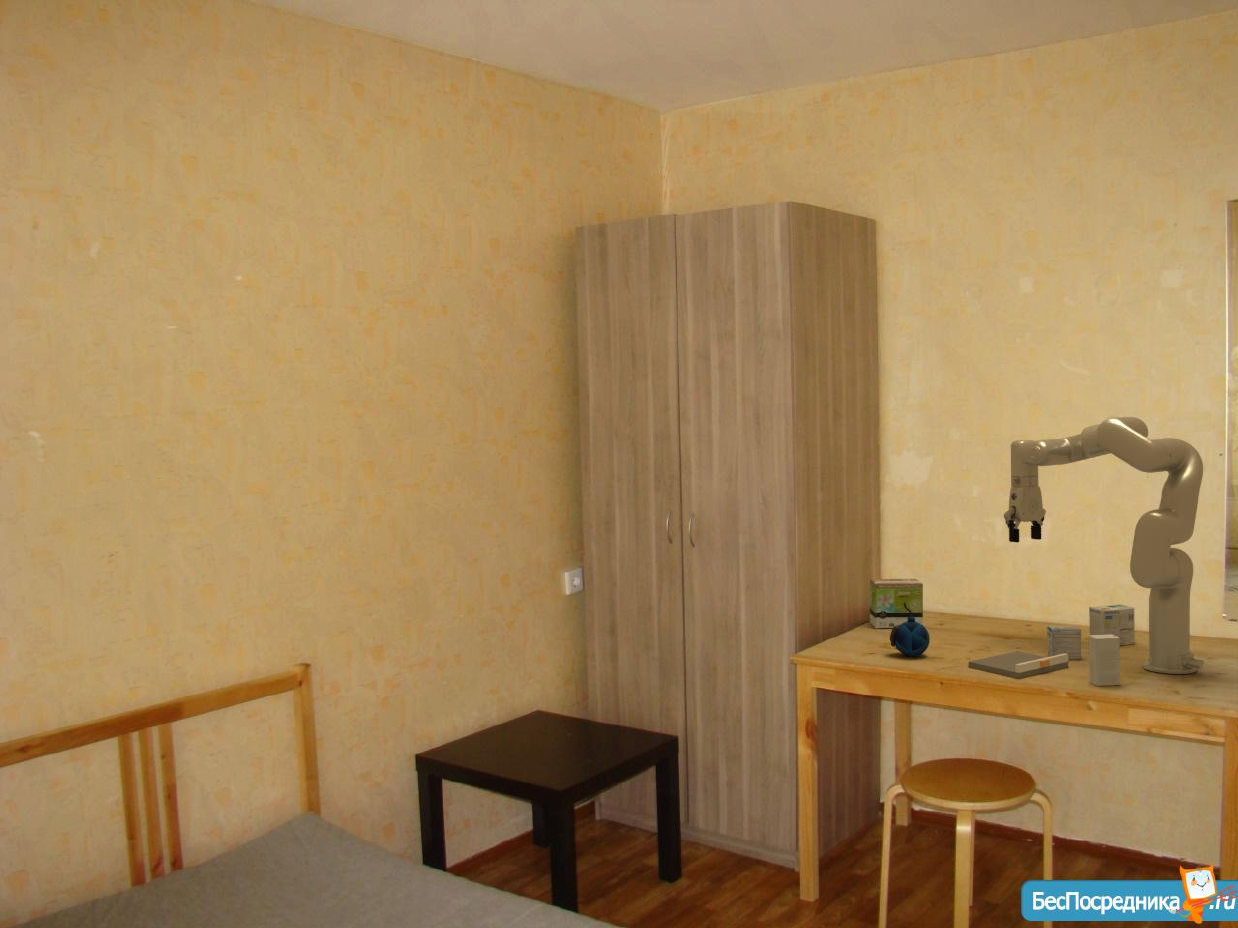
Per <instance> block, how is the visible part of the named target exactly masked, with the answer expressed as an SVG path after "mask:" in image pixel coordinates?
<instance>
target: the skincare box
mask: <svg viewBox="0 0 1238 928" xmlns="http://www.w3.org/2000/svg"><path fill="white" fill-rule="evenodd" d="M1120 646H1121V645H1120V638H1119V637H1117V636H1114V635H1112V634H1109V635H1090V634H1089V635H1088V654H1089V656H1088V658H1089V660H1088V661H1089V662H1088V663H1089V665H1088V666H1089V667H1088V668H1089V683H1090V682H1091V683H1090V684H1093V685H1094V686H1096V687H1105V686H1107V687H1108V686H1109V687H1110V686H1120V685H1121V650H1120V648H1121V647H1120Z"/></svg>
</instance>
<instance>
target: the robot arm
mask: <svg viewBox="0 0 1238 928" xmlns="http://www.w3.org/2000/svg"><path fill="white" fill-rule="evenodd" d="M1148 436H1149V429H1148V426H1147V424H1146V422H1144V420H1142V419H1141V418H1139V417H1133V416H1120V417H1119V416H1118V417H1117V416H1116V417H1110V418H1107V419H1105V420H1103V421H1102V422H1101V423H1099V424H1095V425H1091V426H1086V427H1085V428H1083V429H1082V431H1081V433H1080V434H1074V435H1071V436H1068V437H1063V438H1053V439H1052V438H1051V439H1050V438H1049V439H1038V440H1037V439H1036V440H1033V439H1017V440H1014V441H1012V442H1011V443H1010V490H1009V496H1008V497H1009V498H1008V510H1006V511H1005V513H1004V514H1003V518H1004V520H1005V524H1006V527H1007V529H1008V542H1009V543H1010V542H1011V543H1017V544H1018V543H1020V528H1019V526H1020V524H1021V523H1022V522H1023V523H1026V522H1027V523H1029V522H1030V523H1031V525H1030V539H1031V540H1036V541H1037V540H1039V541H1040V540H1042V526H1043V525H1044V524H1043V523H1044V520H1045V516H1046V513H1047V511H1046V509H1045V508H1044V507H1043V506H1044V505H1043V496H1042V490H1041V486H1039V467H1050V466H1061V465H1063V466H1064V465H1067V464H1071V463H1076V462H1080V461H1085V460H1088V459H1095V458H1097V457H1103V456H1104V455H1109V454H1111V455H1114V457H1116V458H1118V459H1119V460H1121V461H1123V462H1125V464H1127V465H1129V466H1131V467H1133V468H1134V469H1136V470H1138V471H1140V472H1142V473H1146V474H1148V473H1149V474H1150V473H1151V474H1154V473H1162V472H1167V473H1168V476H1167V478H1166V480H1165V482H1164V484H1163V487H1162V490H1161V497H1160V502H1159V507H1158V508H1156V509H1152V510H1151V509H1150V510H1149V511H1147V512H1144V514H1142V515H1141V516H1140V518H1138V520H1137V523H1136V525H1135V528H1134V529H1135V530H1134V533H1133V534H1134V535H1133V540H1132V548H1131V555H1130V563H1129V571H1130V575H1131V578H1132V579H1133V581H1134V582H1135V583H1136V584H1137V585H1138V586H1140V587H1142V588H1145V589H1150V590H1149V591H1150V592H1149V595H1148V659H1147V660H1144V661H1142V668H1143V669H1145V670H1147V671H1150V672H1155V673H1159V674H1167V675H1168V674H1169V675H1188V674H1193V673H1196V672H1197V671H1198V669H1199V670H1202V669H1204V664H1205V661H1204V660H1202V659H1195V653H1193V652H1190V651H1191V649H1190V648H1191V644H1190V643H1191V641H1190V638H1191V636H1190V635H1191V630H1190V627H1191V626H1190V624H1191V622H1190V619H1191V617H1190V614H1191V613H1190V612H1191V590H1192V589H1191V588H1192V583H1193V578H1194V563H1193V561H1192V558H1191V557H1190V555H1189V554H1188V553H1187V552H1186V551H1184V550H1183V549H1180V548H1176V547H1172V546H1175V545H1180V544H1184V543H1186V542H1188V541H1189V540H1190V539H1191V538H1192V536H1193V535H1194V531H1195V524H1196V519H1197V512H1198V506H1199V505H1198V504H1199V499H1200V498H1199V496H1200V491H1201V485H1202V481H1203V477H1204V463H1203V458H1202V457H1201V454H1200V453H1199V452H1198V450H1197V448H1195V447H1194V446H1193V445H1192V444H1190V443H1189V442H1187V441H1185V440H1182V439H1180V438H1173V437H1172V438H1171V437H1169V438H1168V437H1166V438H1156V439H1150V438H1148Z"/></svg>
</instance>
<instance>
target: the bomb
mask: <svg viewBox="0 0 1238 928" xmlns="http://www.w3.org/2000/svg"><path fill="white" fill-rule="evenodd" d="M904 607H905V609H907V610H908V611H909V612H910V617H908V621H907V622H904V623H902V624H900V625H899V626H898V625H896V626H894V627H893V628H891V632H890V635H889V641H890V645H891V647H893V648H894V649H895V650H897V651H898V652H899V653H901V654H902V655H904V656H906V657H917V656H921V655H922V654H924V653H925V652H926V651H927V649H928V648H929V645H930V641H931V639H930V634H929V631H928V629H927V628H926V626H924V624H923V625H922V624H920V623H918V622H915V618H914V617H912V612H911V611H910V610H909V609H908V608H907V607H906V603H904Z"/></svg>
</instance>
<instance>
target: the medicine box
mask: <svg viewBox="0 0 1238 928" xmlns="http://www.w3.org/2000/svg"><path fill="white" fill-rule="evenodd" d="M1046 628H1047V629H1046V631H1047V632H1046V633H1047V634H1046V636H1047V637H1046V638H1047V639H1046V641H1047V642H1046V644H1047V653H1046V654H1047V657H1051V656H1056V655H1060V654H1068V661H1069V660H1071V661H1072V660H1079V661H1080V660H1082V629H1081V628H1080V627H1079V626H1077V625H1048V626H1046Z"/></svg>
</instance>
